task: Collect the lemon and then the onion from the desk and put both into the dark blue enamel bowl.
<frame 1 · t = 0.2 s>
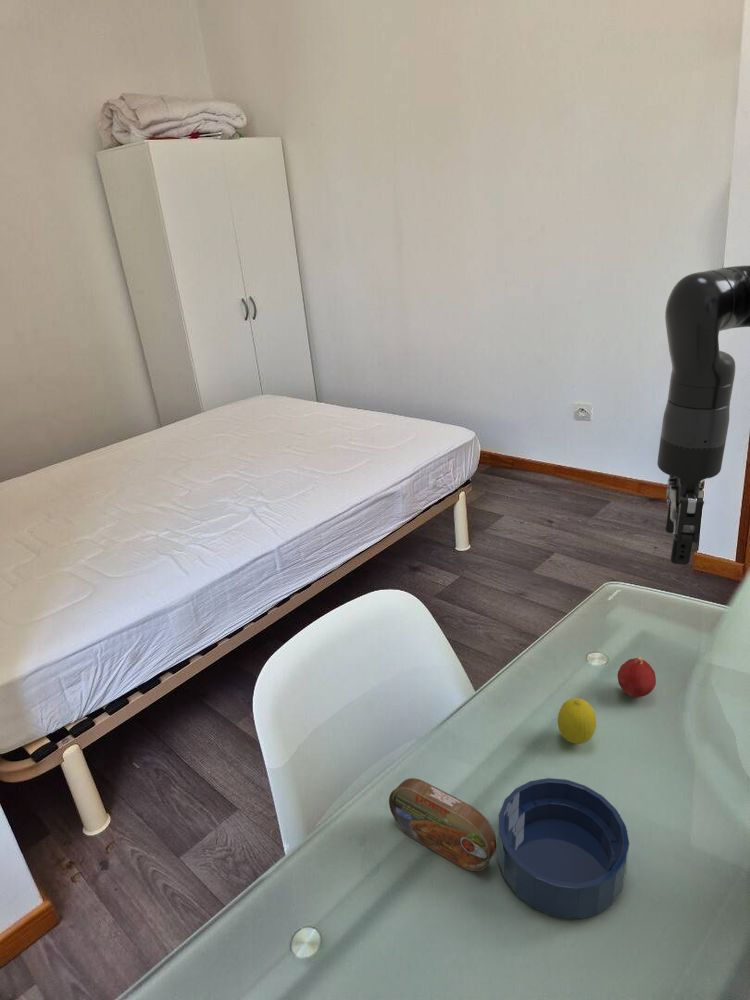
hand: (676, 546, 93), 32 cm above the table, tool pointing down, fingers open, 8 cm apart
tin: (442, 845, 90), on the table
bowl: (559, 861, 87), on the table
onion: (634, 696, 113), on the table
lemon: (574, 742, 105), on the table
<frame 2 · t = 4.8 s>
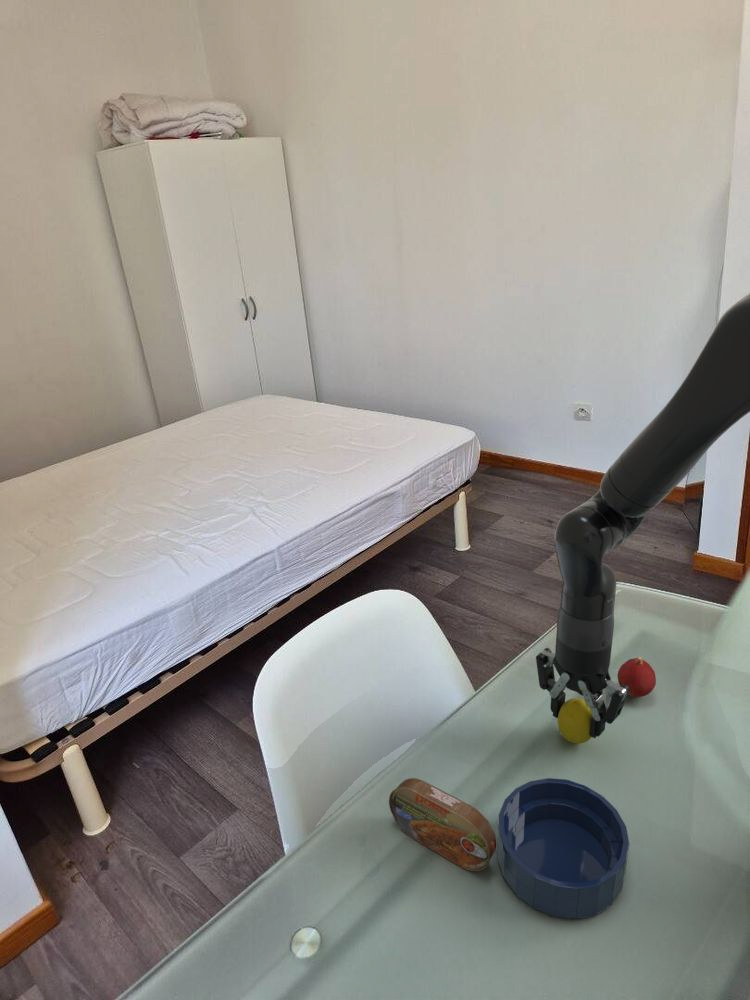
hand: (576, 723, 103), 4 cm above the table, tool pointing down, fingers closed on lemon, 5 cm apart
lemon: (574, 742, 105), on the table, touching gripper
everything else where it was.
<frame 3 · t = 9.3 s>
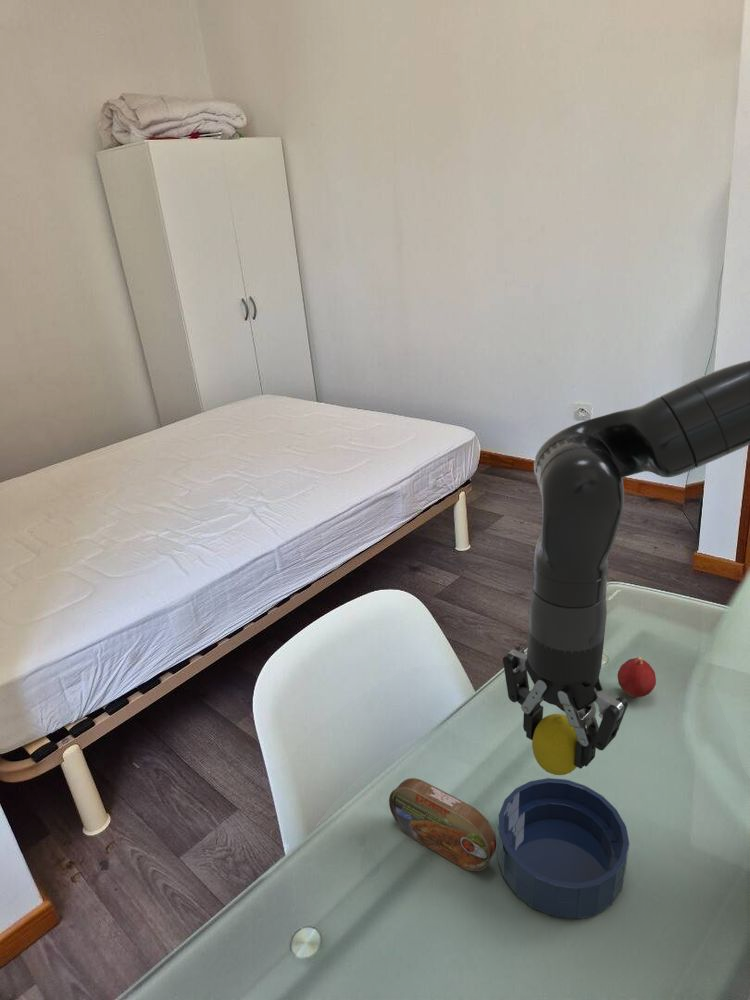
hand: (557, 748, 77), 21 cm above the table, tool pointing down, fingers closed on lemon, 5 cm apart
lemon: (555, 772, 79), point 17 cm above the table, touching gripper
everything else where it was.
when the fingers open (4 cm above the table, at t = 13.7 s): lemon stays where it is, resting on bowl.
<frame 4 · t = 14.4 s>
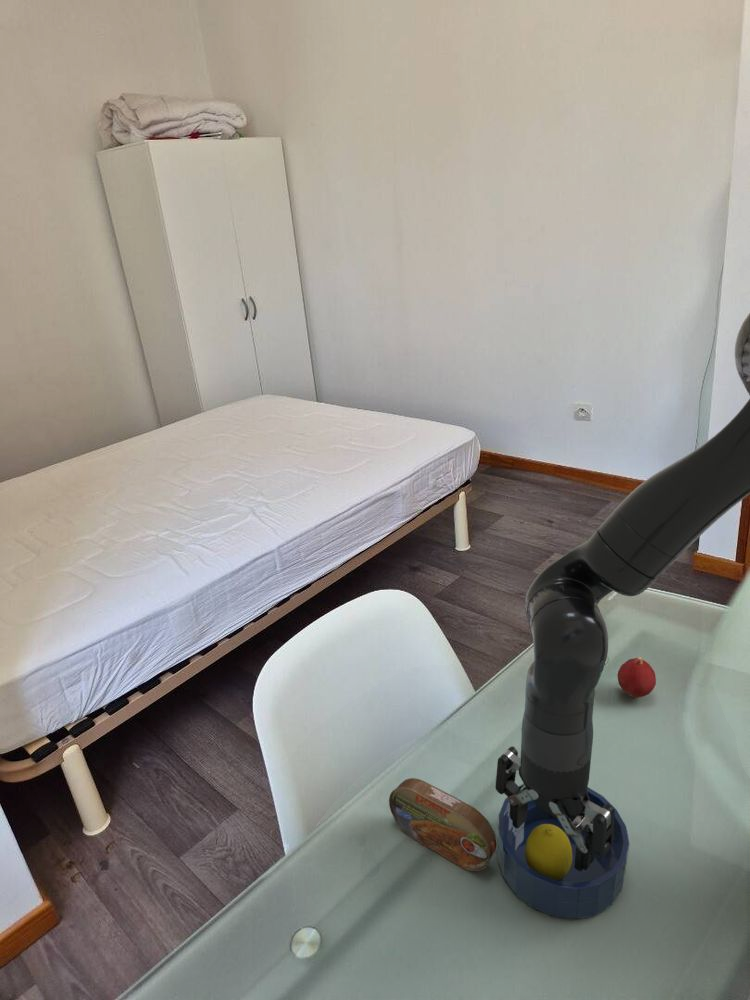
hand: (549, 843, 82), 6 cm above the table, tool pointing down, fingers open, 8 cm apart
lemon: (546, 875, 85), resting on bowl
everything else where it was.
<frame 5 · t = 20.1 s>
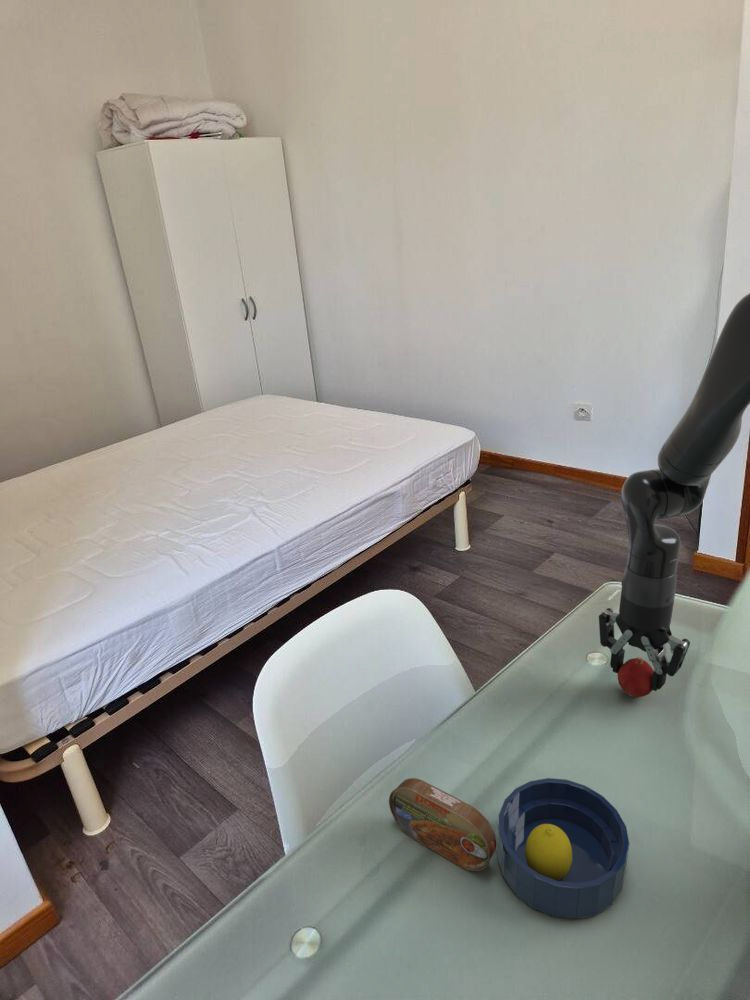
hand: (636, 678, 111), 4 cm above the table, tool pointing down, fingers closed on onion, 6 cm apart
onion: (634, 696, 113), on the table, touching gripper
everything else where it was.
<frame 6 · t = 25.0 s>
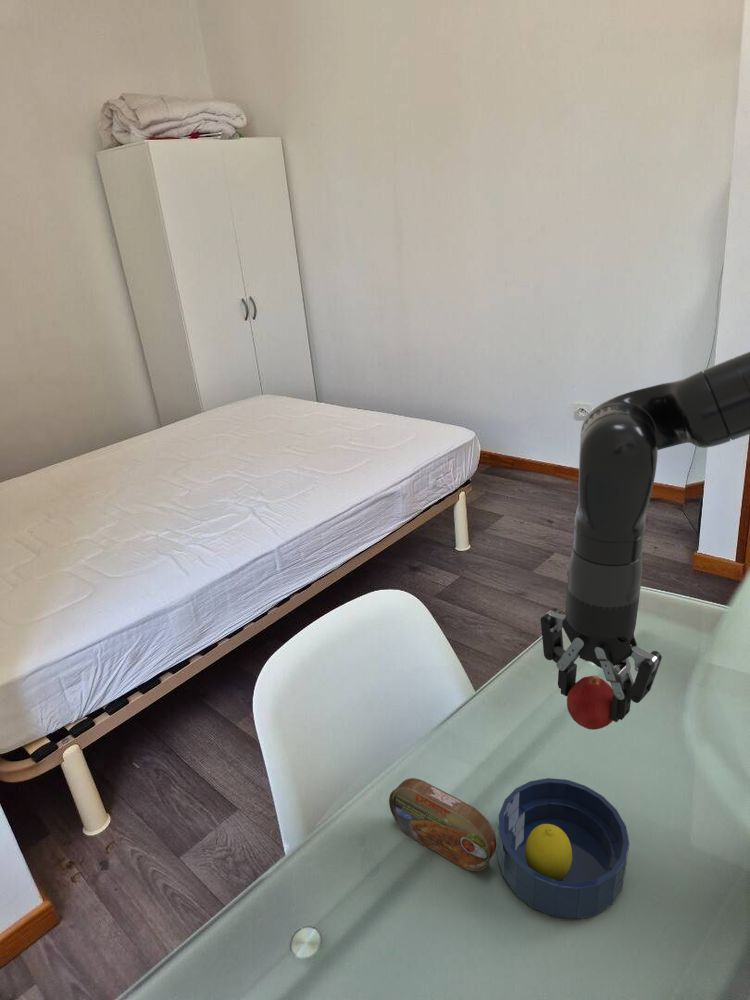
hand: (591, 703, 82), 21 cm above the table, tool pointing down, fingers closed on onion, 6 cm apart
onion: (589, 728, 83), point 18 cm above the table, touching gripper
everything else where it was.
when the fingers open (4 cm above the table, at t = 29.9 s): onion stays where it is, resting on bowl.
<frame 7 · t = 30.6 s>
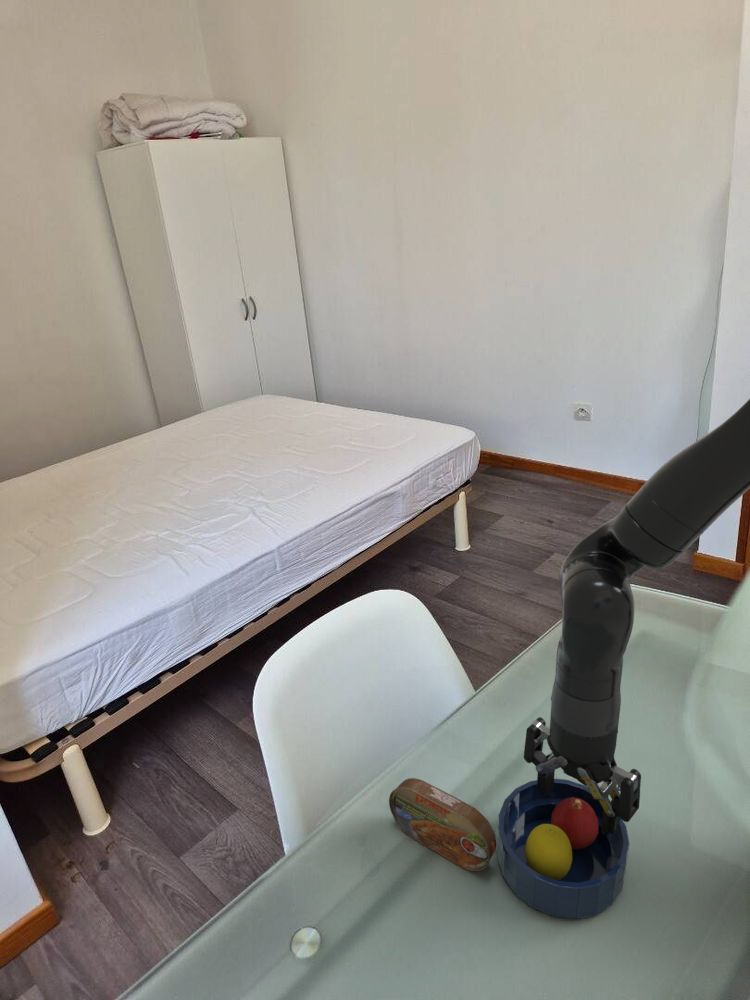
hand: (576, 809, 86), 7 cm above the table, tool pointing down, fingers open, 8 cm apart
onion: (572, 844, 89), resting on bowl
everything else where it was.
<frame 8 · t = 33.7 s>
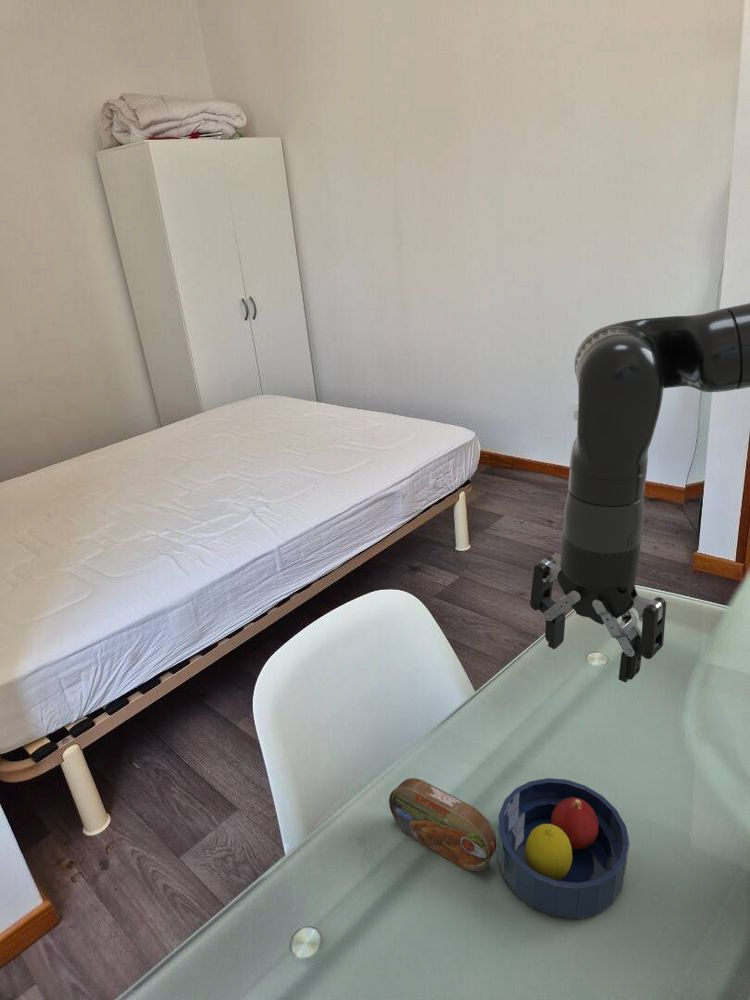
hand: (589, 660, 76), 30 cm above the table, tool pointing down, fingers open, 8 cm apart
nothing on the table moved.
at the end: lemon inside the target area in the bowl (3.0 cm from its centre), point 0.3 cm above the bowl's base; onion inside the target area in the bowl (3.0 cm from its centre), point 0.3 cm above the bowl's base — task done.
